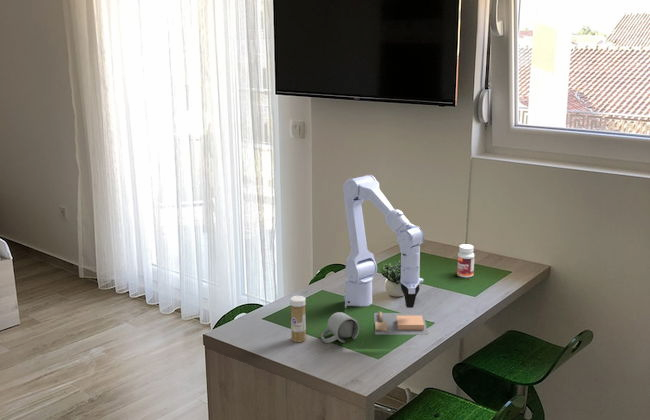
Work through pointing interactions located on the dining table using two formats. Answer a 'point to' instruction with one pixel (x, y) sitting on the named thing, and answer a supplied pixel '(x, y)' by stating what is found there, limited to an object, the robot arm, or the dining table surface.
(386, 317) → the mat
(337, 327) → the ceramic mug
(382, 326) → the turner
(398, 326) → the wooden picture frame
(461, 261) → the pill bottle
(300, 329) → the sprinkles bottle
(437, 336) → the dining table surface
